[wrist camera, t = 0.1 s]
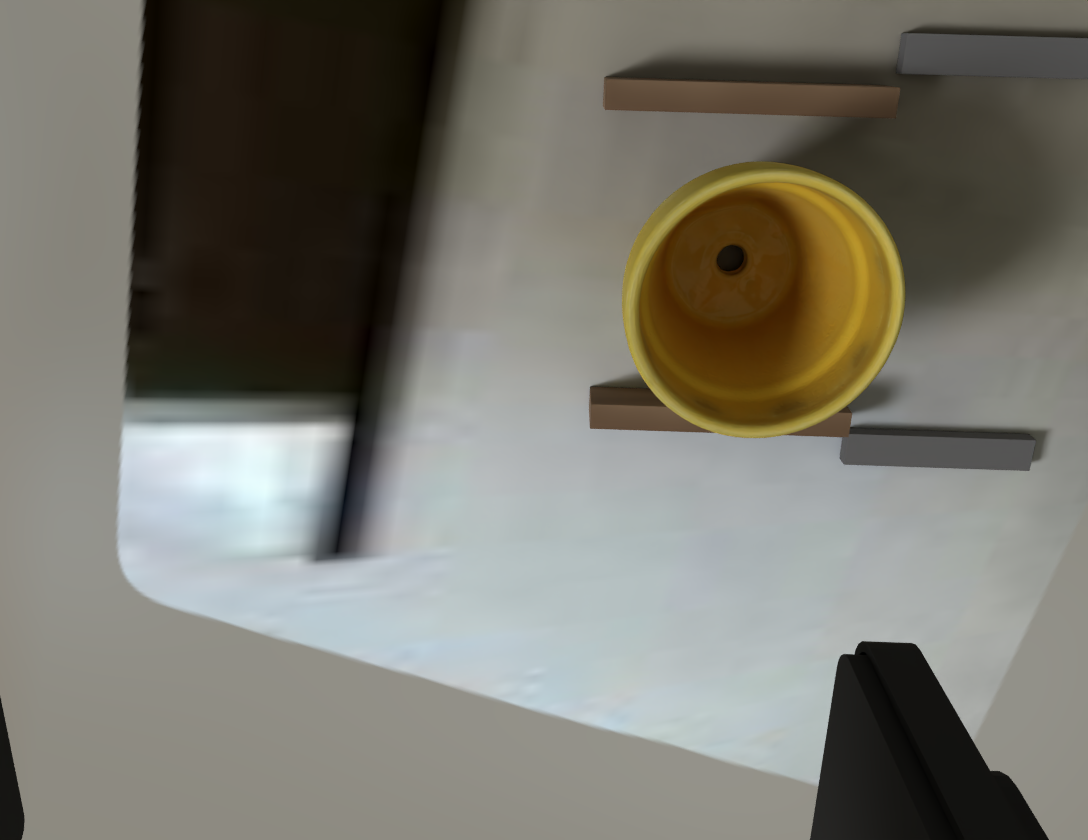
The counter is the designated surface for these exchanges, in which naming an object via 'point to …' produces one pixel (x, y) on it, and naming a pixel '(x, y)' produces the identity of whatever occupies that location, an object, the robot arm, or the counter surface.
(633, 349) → the plant pot
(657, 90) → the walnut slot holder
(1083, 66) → the rubber strips
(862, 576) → the counter surface
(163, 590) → the counter surface
